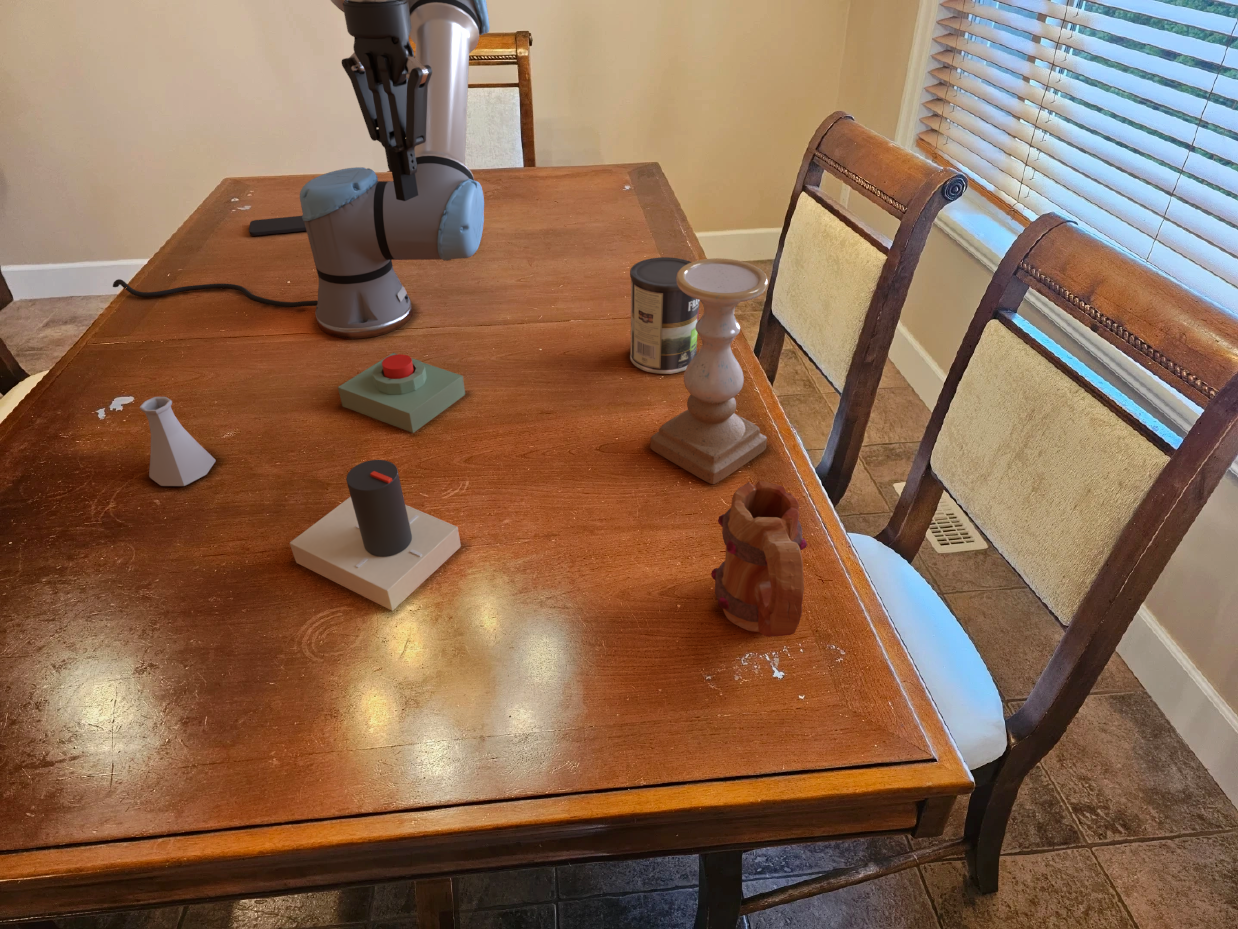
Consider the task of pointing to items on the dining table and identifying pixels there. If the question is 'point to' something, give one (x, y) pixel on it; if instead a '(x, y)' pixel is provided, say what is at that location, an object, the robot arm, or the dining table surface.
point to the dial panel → (380, 579)
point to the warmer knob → (379, 507)
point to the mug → (762, 560)
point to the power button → (397, 366)
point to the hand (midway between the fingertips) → (407, 197)
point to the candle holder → (714, 376)
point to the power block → (402, 394)
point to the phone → (276, 225)
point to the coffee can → (661, 317)
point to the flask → (173, 447)
